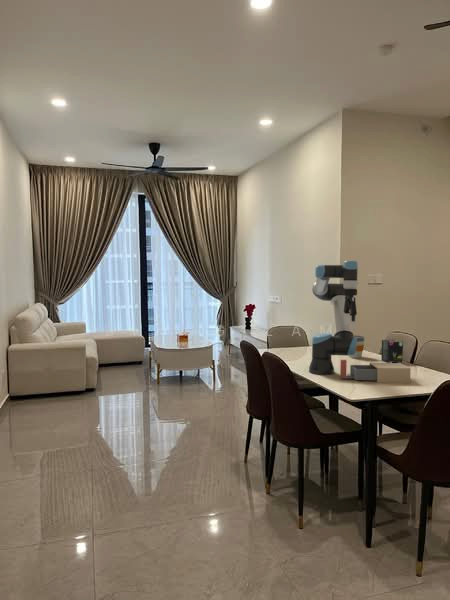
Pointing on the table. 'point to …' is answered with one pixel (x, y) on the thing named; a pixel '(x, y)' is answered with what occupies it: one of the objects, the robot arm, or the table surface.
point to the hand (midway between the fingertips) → (349, 326)
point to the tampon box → (392, 351)
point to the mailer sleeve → (392, 372)
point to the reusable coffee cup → (358, 347)
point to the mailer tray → (359, 371)
